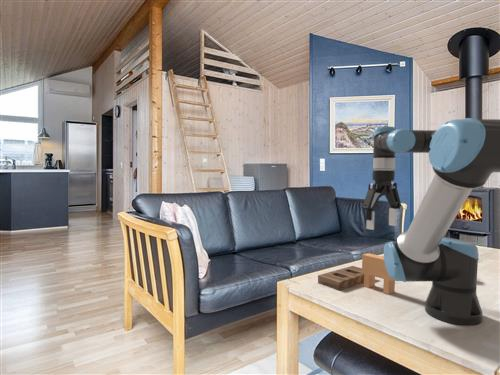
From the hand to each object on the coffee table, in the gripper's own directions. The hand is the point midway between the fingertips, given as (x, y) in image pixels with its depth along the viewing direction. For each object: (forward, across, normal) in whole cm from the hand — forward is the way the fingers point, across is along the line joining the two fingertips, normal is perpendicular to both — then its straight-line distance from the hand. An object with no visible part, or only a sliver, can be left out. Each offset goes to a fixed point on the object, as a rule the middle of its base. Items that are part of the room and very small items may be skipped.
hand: (381, 227), depth 126 cm
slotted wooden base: (+23, +4, -12) cm, 26 cm away
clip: (+23, +1, +1) cm, 23 cm away
